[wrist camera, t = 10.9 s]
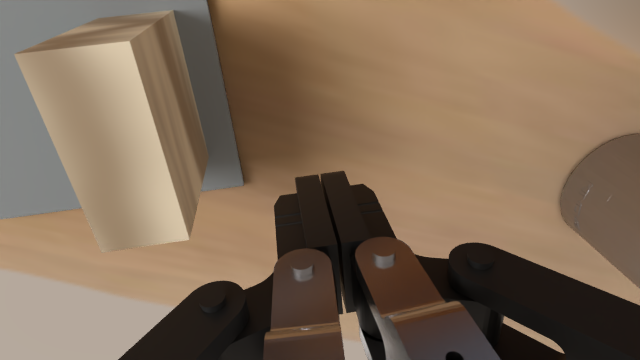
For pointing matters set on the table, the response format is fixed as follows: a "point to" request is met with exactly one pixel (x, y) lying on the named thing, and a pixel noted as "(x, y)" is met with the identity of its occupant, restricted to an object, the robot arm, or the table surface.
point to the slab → (123, 125)
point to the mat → (29, 128)
